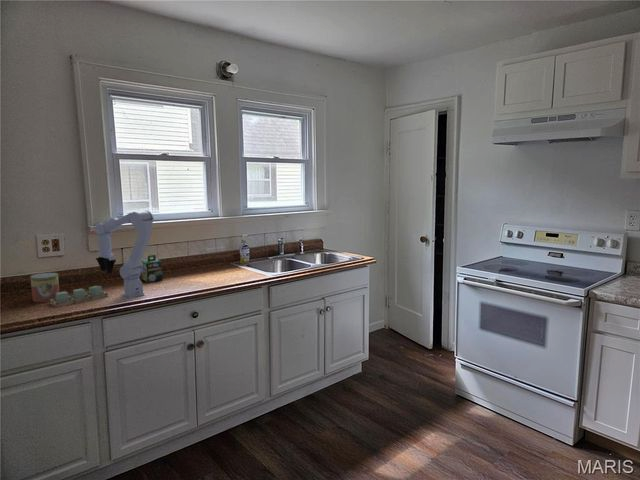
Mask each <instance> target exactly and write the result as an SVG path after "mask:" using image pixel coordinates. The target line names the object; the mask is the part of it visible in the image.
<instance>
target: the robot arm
mask: <svg viewBox="0 0 640 480" xmlns="http://www.w3.org/2000/svg"><path fill="white" fill-rule="evenodd" d="M154 220H155V218H154V216H153V213H152V212H151V211H149V210H145V211H132V212H129V213H127V214H125V215H123V216H121V217H119V218H117V217H111V218H109V220H104V221H103V223H102V222H101V223H97V224H95V226H94V232H95V234H97V241H98V242H97V243H98V244H97V245H98V252H97V257H96V258H95V260H96V261H97V264H98V265H99V269H100V271H101V272H106V273H107V274H112V273H113V271H114V265H115V264H116V263H117V260H116V259H115V258H114V255H115V254H114V253H112V239H111V237H112V233H113V232H115V231H117V230H119V229H120V228H122V225H126V224H128V223H130V224H131V225H132V226H133V227H134V229H135V230H136V231H137V232H138V235H137V237H136V239H135V242H134V245H133V246H132V250H131V252H130V256H129V258H128V259H127V260H126V261H124V263H123V265H122V266H121V267H120V268H119V275H120V277H121V278H122V279H123V288H124V292H122V293H121V295H122V296H125V297H126V298H135V297H140V296H145V295H146V293H144V289H143V288H144V287H143V285H144V284H143V282H142V280H140V277H141V275H142V266H143V263H142V262H141V261H142V260H143V259H142V258H143V256H144V254H145V251H146V249H147V245H148V243H149V240H150V237H151V236H152V233H153V222H154Z"/></svg>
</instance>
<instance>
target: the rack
mask: <svg viewBox="0 0 640 480" xmlns="http://www.w3.org/2000/svg"><path fill="white" fill-rule="evenodd" d="M68 296H69V300H66V301H61V302H56V298H55V299H50V301H49V304H51V306H53V307H54V308H58V307H64V306H68V305H72V304H73V305H74V304H78V303H83V302H89V301H92V300H98V299H103V298H108V297H109V296H108V292H106V291H103V290H102V294H97V295H92V296H91V295H89V291H87V292H85V296H86V297H82V298H77V299H74V298H73V294H72V295H68Z"/></svg>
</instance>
